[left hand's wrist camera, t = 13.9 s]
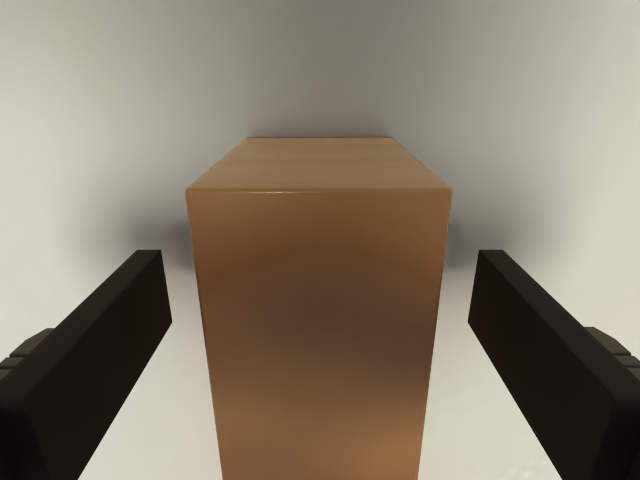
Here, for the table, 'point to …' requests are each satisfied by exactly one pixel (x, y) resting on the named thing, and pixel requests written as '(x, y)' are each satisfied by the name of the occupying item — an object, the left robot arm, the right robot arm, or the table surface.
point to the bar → (319, 305)
